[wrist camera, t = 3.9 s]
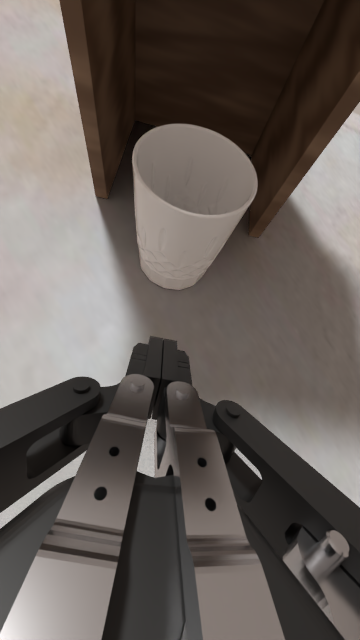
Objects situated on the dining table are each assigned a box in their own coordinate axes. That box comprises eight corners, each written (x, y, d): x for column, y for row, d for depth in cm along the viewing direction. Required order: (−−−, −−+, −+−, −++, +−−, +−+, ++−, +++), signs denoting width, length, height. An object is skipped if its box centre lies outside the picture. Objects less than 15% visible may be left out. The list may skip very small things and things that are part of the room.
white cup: (224, 273, 24) (282, 190, 15) (163, 310, 21) (185, 238, 12) (180, 219, 25) (207, 112, 16) (117, 247, 23) (105, 139, 13)
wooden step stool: (268, 240, 27) (575, -134, 8) (83, 192, 24) (-88, -513, 6) (268, 150, 32) (445, -184, 14) (119, 104, 30) (94, -379, 11)
